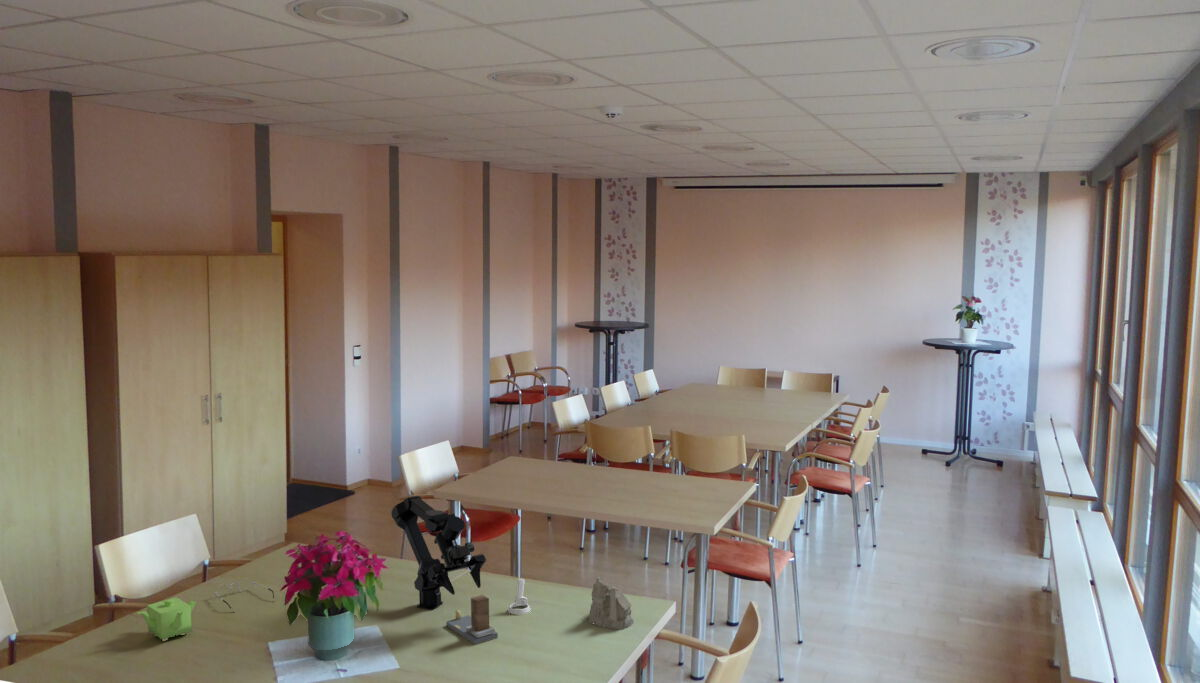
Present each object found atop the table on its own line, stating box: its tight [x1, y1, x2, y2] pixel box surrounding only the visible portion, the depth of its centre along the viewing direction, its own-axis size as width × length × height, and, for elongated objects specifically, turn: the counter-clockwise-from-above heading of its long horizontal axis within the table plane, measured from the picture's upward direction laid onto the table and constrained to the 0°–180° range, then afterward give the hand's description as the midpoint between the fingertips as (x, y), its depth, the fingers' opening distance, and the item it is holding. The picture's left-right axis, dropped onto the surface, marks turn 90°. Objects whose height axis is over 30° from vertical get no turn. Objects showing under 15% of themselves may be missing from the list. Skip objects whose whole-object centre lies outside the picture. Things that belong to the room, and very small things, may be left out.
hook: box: [507, 578, 532, 615], centre depth 306 cm, size 8×12×7 cm
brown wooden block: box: [466, 594, 496, 638], centre depth 282 cm, size 7×6×11 cm
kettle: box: [136, 597, 197, 640], centre depth 286 cm, size 15×14×11 cm
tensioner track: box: [445, 609, 499, 645], centre depth 287 cm, size 18×8×4 cm, turn 38°
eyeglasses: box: [213, 577, 275, 609], centre depth 315 cm, size 16×19×5 cm
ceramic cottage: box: [588, 576, 634, 630], centre depth 297 cm, size 16×16×15 cm
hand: (466, 590), depth 288 cm, fingers open, 9 cm apart
